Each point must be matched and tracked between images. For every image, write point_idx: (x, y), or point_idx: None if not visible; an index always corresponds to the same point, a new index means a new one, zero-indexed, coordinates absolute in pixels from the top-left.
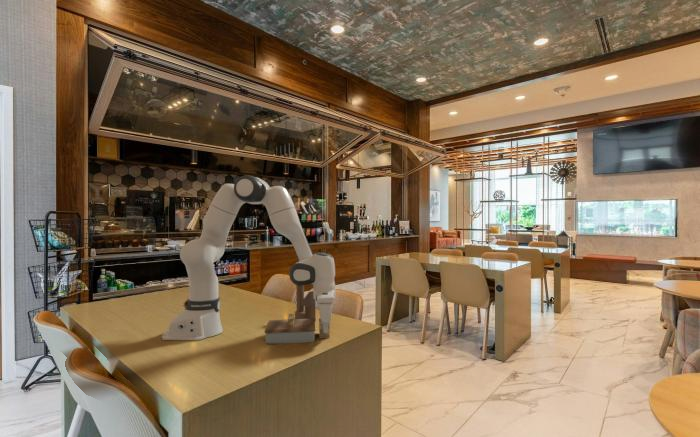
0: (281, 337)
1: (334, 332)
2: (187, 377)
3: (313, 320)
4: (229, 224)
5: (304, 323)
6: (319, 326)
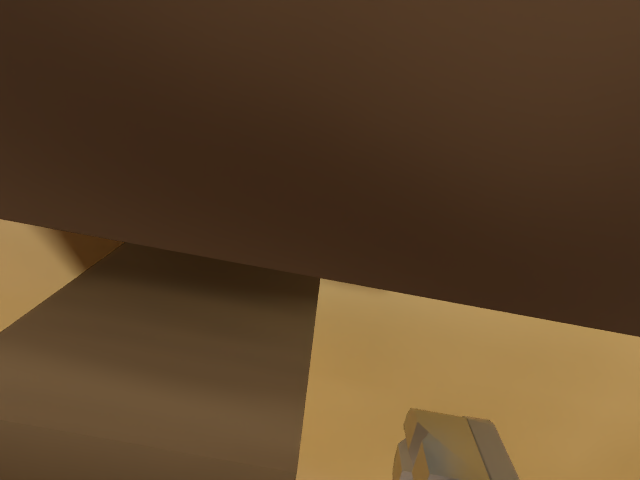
0: None
1: (352, 465)
2: None
3: (466, 255)
4: None
5: None
6: (29, 312)
